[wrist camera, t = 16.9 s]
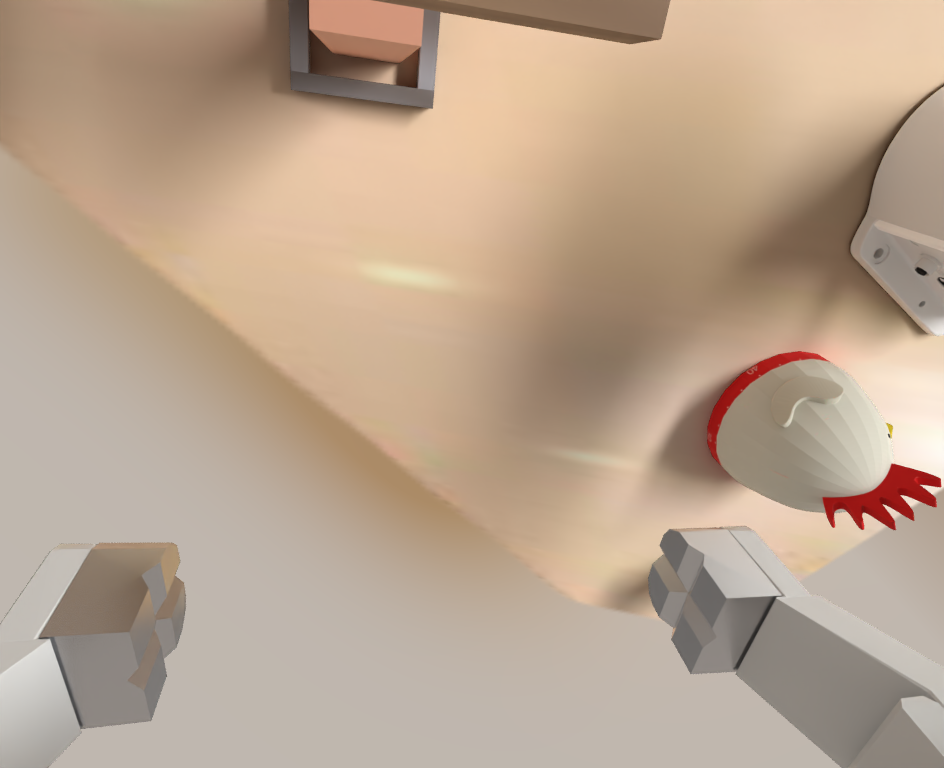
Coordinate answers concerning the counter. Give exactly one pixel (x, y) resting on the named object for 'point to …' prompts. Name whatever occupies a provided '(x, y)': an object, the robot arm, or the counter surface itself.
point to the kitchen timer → (812, 441)
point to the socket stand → (520, 3)
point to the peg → (367, 28)
